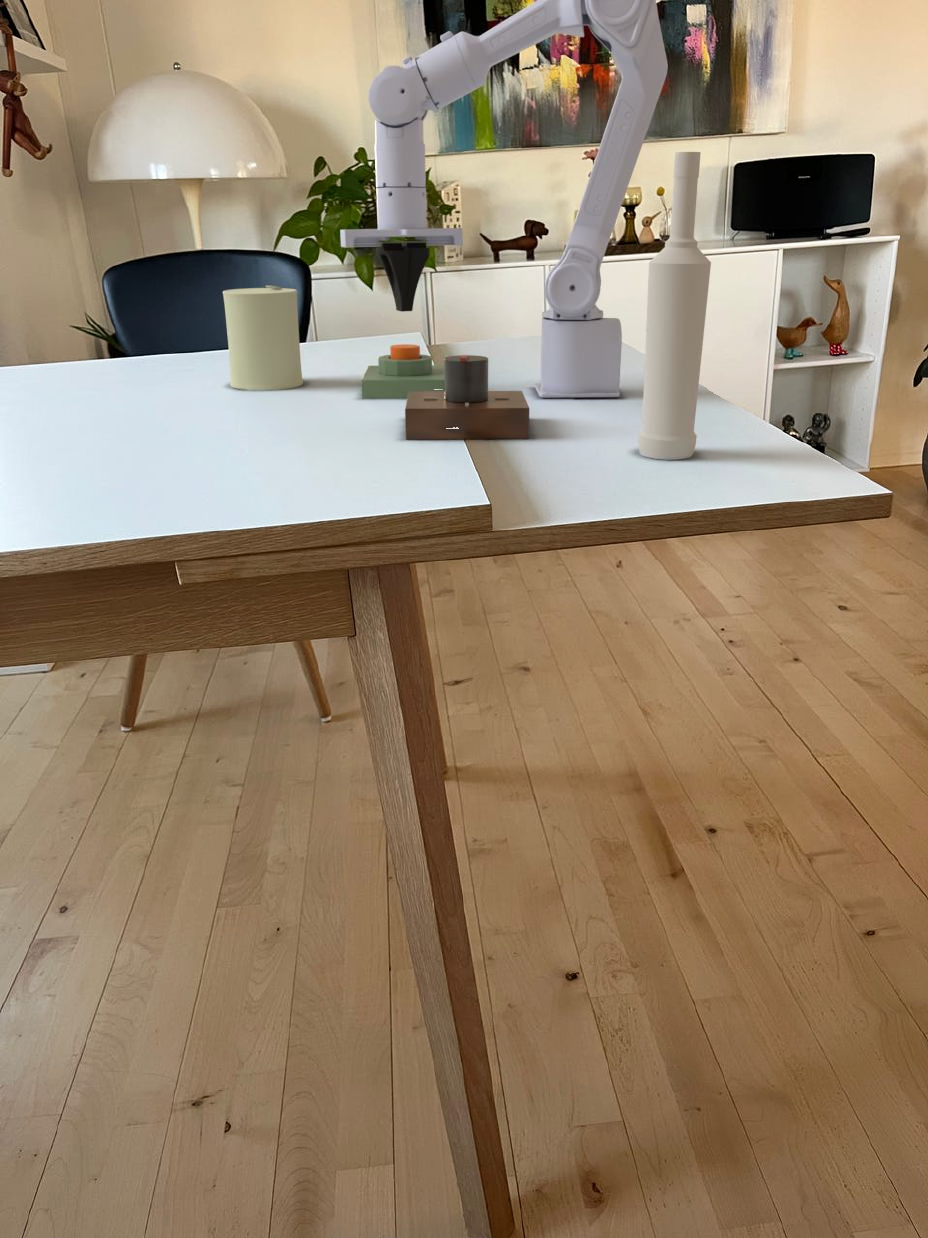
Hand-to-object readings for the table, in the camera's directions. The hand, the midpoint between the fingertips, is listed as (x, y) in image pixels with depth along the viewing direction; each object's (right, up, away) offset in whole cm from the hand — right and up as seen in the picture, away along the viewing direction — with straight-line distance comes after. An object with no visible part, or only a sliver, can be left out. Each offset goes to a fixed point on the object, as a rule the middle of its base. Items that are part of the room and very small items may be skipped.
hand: (404, 310), depth 121 cm
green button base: (0, -9, +4) cm, 10 cm away
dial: (+7, -15, -20) cm, 26 cm away
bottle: (+26, -22, -29) cm, 45 cm away
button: (0, -5, +2) cm, 6 cm away
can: (-18, -7, +8) cm, 21 cm away
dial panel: (+7, -18, -19) cm, 27 cm away
